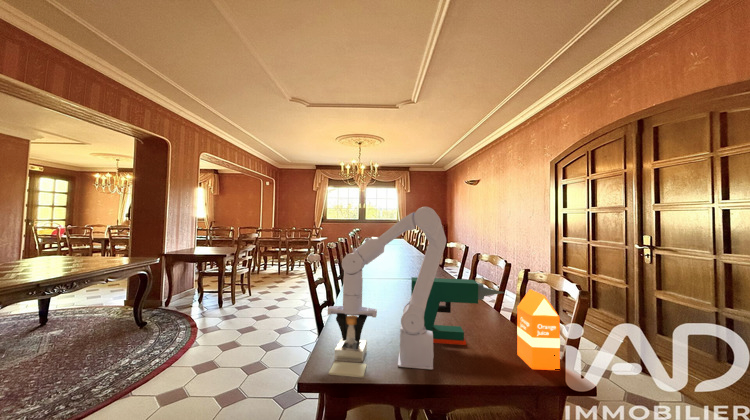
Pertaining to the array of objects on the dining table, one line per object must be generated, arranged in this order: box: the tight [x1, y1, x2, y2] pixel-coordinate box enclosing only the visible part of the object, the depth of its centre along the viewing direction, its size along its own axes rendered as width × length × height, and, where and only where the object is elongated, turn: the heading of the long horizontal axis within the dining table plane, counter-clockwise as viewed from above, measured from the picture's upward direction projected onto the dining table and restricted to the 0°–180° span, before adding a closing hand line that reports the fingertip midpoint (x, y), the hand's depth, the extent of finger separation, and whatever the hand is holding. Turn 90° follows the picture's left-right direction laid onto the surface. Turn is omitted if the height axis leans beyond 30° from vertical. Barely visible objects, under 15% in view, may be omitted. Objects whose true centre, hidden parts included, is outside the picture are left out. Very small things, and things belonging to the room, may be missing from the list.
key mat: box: [328, 360, 368, 378], centre depth 76 cm, size 9×6×1 cm, turn 83°
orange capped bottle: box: [345, 315, 359, 349], centre depth 85 cm, size 4×4×10 cm
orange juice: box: [516, 288, 561, 371], centre depth 83 cm, size 8×9×20 cm
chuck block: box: [334, 338, 368, 364], centre depth 84 cm, size 8×8×3 cm
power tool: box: [410, 276, 506, 346], centre depth 98 cm, size 32×7×20 cm, turn 84°
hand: (351, 339), depth 84 cm, fingers closed on orange capped bottle, 4 cm apart
